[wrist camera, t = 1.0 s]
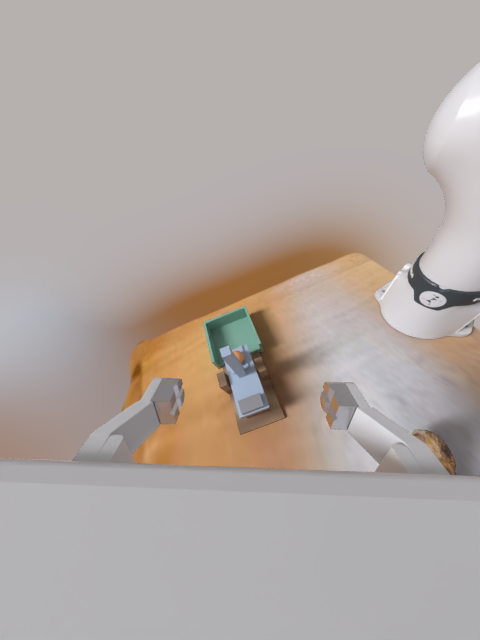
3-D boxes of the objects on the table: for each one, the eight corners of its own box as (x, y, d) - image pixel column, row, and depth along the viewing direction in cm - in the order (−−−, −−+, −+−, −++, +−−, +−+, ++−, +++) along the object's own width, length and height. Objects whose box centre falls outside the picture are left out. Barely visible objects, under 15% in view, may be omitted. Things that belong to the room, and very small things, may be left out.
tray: (263, 351, 49) (261, 343, 45) (218, 368, 50) (212, 362, 45) (248, 315, 56) (245, 305, 52) (209, 331, 56) (202, 322, 52)
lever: (270, 407, 37) (260, 393, 26) (240, 418, 37) (218, 409, 26) (247, 345, 45) (233, 316, 34) (223, 355, 45) (201, 328, 34)
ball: (238, 351, 44) (234, 345, 41) (248, 360, 42) (244, 354, 39) (228, 361, 43) (223, 355, 40) (237, 370, 41) (233, 365, 39)
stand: (285, 417, 40) (283, 413, 34) (240, 434, 41) (230, 433, 34) (259, 353, 49) (255, 340, 43) (223, 367, 49) (212, 357, 43)
